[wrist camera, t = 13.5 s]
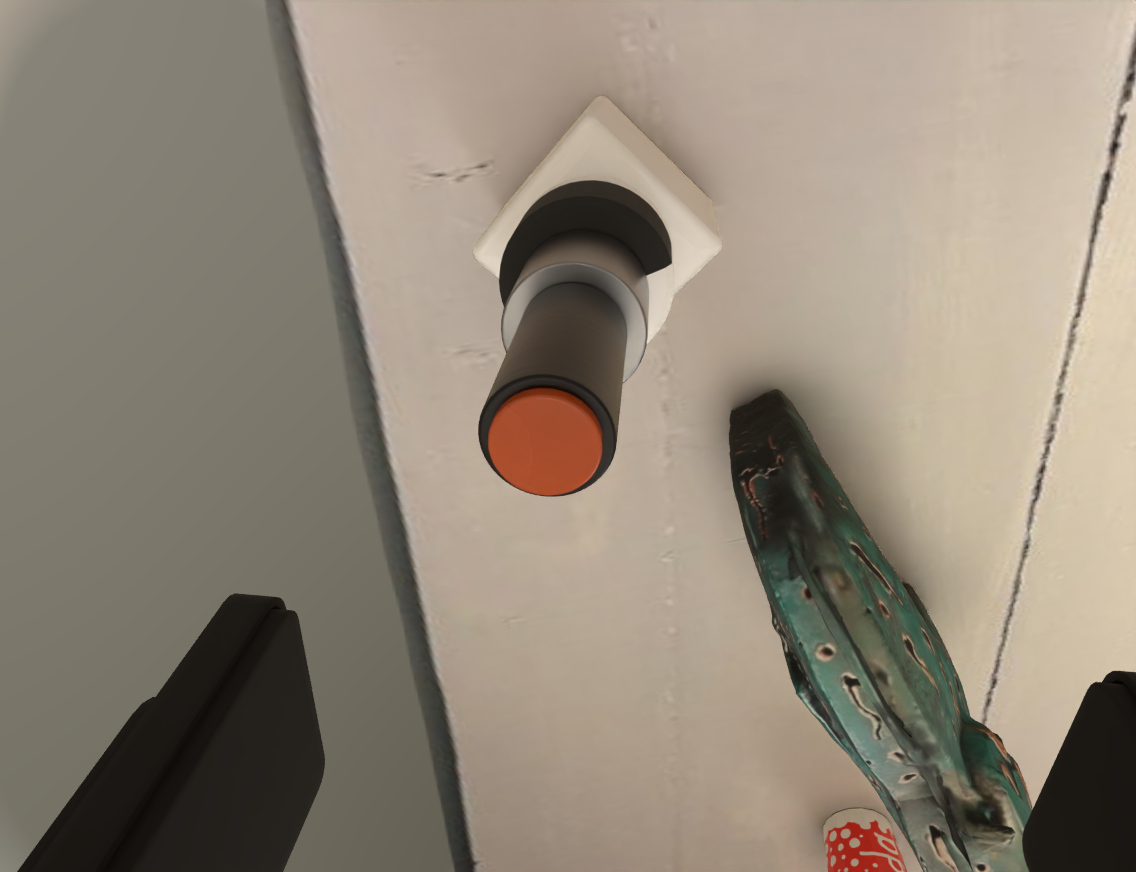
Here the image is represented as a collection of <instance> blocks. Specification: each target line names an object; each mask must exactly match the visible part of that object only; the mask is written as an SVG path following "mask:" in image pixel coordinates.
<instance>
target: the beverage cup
mask: <svg viewBox="0 0 1136 872" xmlns="http://www.w3.org/2000/svg"><path fill="white" fill-rule="evenodd" d="M823 834H824V842H825V850H826V858H827V866H828V872H907V870H906V868H905V865H904V862H903V859H902V856H901V853H900V850H899V847H898V845H897V842H896V839H895V836H894V833H893V830H892V827H891V824H890V823H889V822H888V820H887V819H886V818H885V816H883V815H881V814H879V813H877V812H876V811H873V810H868V809H863V808H858V809H847V810H843V811H840V812H837V813H835V814H834V815H832V816H831V817H830V818H828V819H827V820H826V822H825V824H824V826H823Z"/></svg>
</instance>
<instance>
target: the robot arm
mask: <svg viewBox="0 0 1136 872" xmlns="http://www.w3.org/2000/svg"><path fill="white" fill-rule="evenodd" d="M324 765H325V757H324V750H323V745H322V740H321V734H320V729H319V724H318V719H317V713H316V708H315V703H314V698H313V692H312V687H311V682H310V676H309V671H308V666H307V661H306V655H305V650H304V645H303V640H302V635H301V629H300V624H299V619H298V616H297V613H296V612H295V611H292V610H291V611H290V610H286V607H285V604H284V601H283V600H282V599H281V598H278V597H269V596H258V595H246V594H233V595H230V596H229V597H228V598H227V599H226V600H225V601H224V602H223V604H222V605H221V607H220V608H219V609H218V611H217V612H216V614H215V615H214V616H213V618H212V619H211V621H210V622H209V624H208V625H207V626H206V628H205V629H204V630H203V632H202V633H201V635H200V636H199V637H198V639H197V640H196V642H195V643H194V644H193V646H192V647H191V649H190V650H189V651H188V653H187V654H186V656H185V657H184V658H183V660H182V661H181V662H180V664H179V665H178V667H177V668H176V669H175V671H174V672H173V674H172V675H171V676H170V678H169V679H168V681H167V682H166V683H165V685H164V686H163V688H162V689H161V690H160V692H159V693H158V695H157V696H156V697H152V698H150V699H149V700H147V701H145V702H144V703H142V704H141V705H140V707H139V708H138V709H137V710H136V711H135V712H134V713H133V714H132V716H131V717H130V718H129V720H128V721H127V722H126V724H125V725H124V726H123V728H122V729H121V731H120V732H119V733H118V735H117V736H116V737H115V739H114V740H113V742H112V743H111V744H110V746H109V747H108V748H107V750H106V751H105V752H104V754H103V755H102V757H101V758H100V759H99V761H98V762H97V763H96V765H95V766H94V767H93V769H92V770H91V772H90V773H89V775H88V776H87V777H86V779H85V780H84V781H83V782H82V784H81V785H80V787H79V788H78V789H77V791H76V792H75V794H74V795H73V796H72V798H71V799H70V800H69V802H68V803H67V804H66V806H65V807H64V808H63V810H62V811H61V813H60V814H59V815H58V817H57V818H56V820H55V821H54V822H53V824H52V825H51V826H50V828H49V829H48V830H47V832H46V833H45V835H44V836H43V837H42V839H41V840H40V841H39V843H38V844H37V845H36V847H35V848H34V850H33V851H32V852H31V854H30V855H29V856H28V858H27V859H26V861H25V862H24V863H23V865H22V866H21V867H20V869H19V870H18V871H17V872H283V871H284V868H285V866H286V864H287V861H288V859H289V857H290V854H291V852H292V850H293V847H294V845H295V843H296V841H297V838H298V836H299V834H300V831H301V829H302V827H303V824H304V822H305V820H306V818H307V815H308V813H309V811H310V808H311V806H312V804H313V801H314V799H315V797H316V794H317V792H318V790H319V787H320V784H321V782H322V777H323V773H324ZM1022 848H1023V854H1024V859H1025V862H1026V865H1027V867H1028V870H1029V872H1136V672H1125V671H1112V672H1110V673H1109V674H1107V675H1106V677H1105V678H1104V680H1103V681H1102V682H1095V683H1093V684H1092V685H1091V686H1090V687H1089V689H1088V690H1087V692H1086V694H1085V697H1084V699H1083V701H1082V703H1081V705H1080V708H1079V710H1078V712H1077V714H1076V716H1075V718H1074V721H1073V723H1072V725H1071V727H1070V729H1069V732H1068V734H1067V736H1066V738H1065V740H1064V742H1063V745H1062V747H1061V749H1060V751H1059V753H1058V755H1057V758H1056V760H1055V762H1054V764H1053V766H1052V769H1051V771H1050V773H1049V775H1048V777H1047V779H1046V782H1045V784H1044V786H1043V788H1042V790H1041V793H1040V795H1039V797H1038V799H1037V801H1036V803H1035V806H1034V808H1033V810H1032V812H1031V814H1030V816H1029V819H1028V821H1027V823H1026V825H1025V827H1024V831H1023V836H1022Z"/></svg>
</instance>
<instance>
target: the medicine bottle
mask: <svg viewBox="0 0 1136 872" xmlns="http://www.w3.org/2000/svg"><path fill="white" fill-rule="evenodd" d="M584 230H585V231H594V232H598V233H602V234H605V235H608V236H610V237H612V238H614V239H616V240H618V241H619V242H621V243H622V244H624V245H625V246H626V247H627V248H628V249H629V250H630V251H631V252H632V253H633V254H634V255H635V256H636V257H637V259H638V260H639V262H640V264H641V265H642V267H643V269H644V272H645V274H646V277H647V281H648V286H649V316H648V337H647V343H648V342H649V341H651V340H652V338H653V337H654V336H655V335H656V334H657V332H658V331H659V330H660V328H661V326H662V325H663V323H664V322H665V320H666V317H667V315H668V313H669V311H670V307H671V304H672V300H673V296H674V295H675V294H676V293H677V292H678V291H679V290H680V289H681V288H682V287H683V286H684V285H685V284H686V283H687V282H688V281H689V280H690V279H691V278H693V277H694V276H695V275H696V274H697V273H698V272H699V271H700V270H701V269H702V268H703V267H704V266H705V265H706V264H707V263H708V262H709V261H710V260H711V259H712V258H713V257H714V256H715V255H716V254H717V253H718V252H719V251H720V249H721V248H722V240H721V236H720V232H719V227H718V223H717V219H716V215H715V210H714V206H713V203H712V201H711V200H710V199H709V198H708V197H707V196H706V195H705V194H704V193H703V192H702V191H701V190H700V189H699V188H698V187H697V186H696V185H695V184H694V183H693V182H692V181H691V180H690V179H689V178H688V177H687V176H686V175H685V174H684V173H683V172H682V171H681V170H680V169H679V168H678V167H677V166H676V165H675V164H674V163H673V162H672V161H671V160H670V159H669V158H668V157H667V156H666V155H665V154H664V153H663V152H662V151H661V150H660V149H659V148H658V147H657V146H656V145H655V144H654V143H653V142H651V141H650V140H649V139H648V138H647V137H646V136H645V135H644V134H643V133H642V132H641V131H640V130H639V129H638V128H637V127H636V126H635V125H634V124H633V123H632V122H631V121H630V120H629V119H628V118H627V117H626V116H625V115H624V114H623V113H622V112H621V111H620V110H619V109H618V108H617V107H616V106H615V105H614V104H613V103H612V102H611V101H610V100H609V99H608V98H607V97H605V96H598V97H596V98H595V99H594V100H593V101H592V102H591V104H590V105H589V106H588V107H587V108H586V110H585V111H584V112H583V113H582V114H581V115H580V117H579V118H578V119H577V120H576V121H575V123H574V124H573V125H572V126H571V127H570V129H569V130H568V131H567V132H566V133H565V134H564V136H563V137H562V138H561V139H560V140H559V142H558V143H557V144H556V145H555V146H554V147H553V149H552V150H551V151H550V152H549V153H548V155H547V156H546V157H545V158H544V159H543V161H542V162H541V163H540V164H539V165H538V166H537V168H536V169H535V170H534V171H533V172H532V174H531V175H530V176H529V177H528V178H527V180H526V181H525V182H524V183H523V184H522V185H521V187H520V188H519V189H518V190H517V191H516V193H515V194H514V195H513V196H512V197H511V198H510V200H509V201H508V202H507V203H506V204H505V206H504V207H503V208H502V209H501V211H500V212H499V213H498V215H497V216H496V218H495V219H494V220H493V222H492V223H491V224H490V226H489V227H488V229H487V230H486V231H485V233H484V234H483V235H482V237H481V238H480V240H479V241H478V242H477V244H476V245H475V247H474V249H473V255H474V257H475V259H476V260H477V261H478V262H480V263H481V264H482V265H483V266H484V267H485V268H486V269H488V270H489V271H490V272H491V273H492V274H493V275H495V276H496V277H497V278H498V279H499V285H500V293H501V298H502V302H503V305H504V307H505V304H506V302H507V300H508V298H509V296H510V294H511V292H512V290H513V288H514V286H515V284H516V282H517V280H518V278H519V276H520V274H521V272H522V270H523V268H524V266H525V264H526V262H527V260H528V259H529V257H530V256H531V254H532V253H533V252H534V251H535V250H536V249H537V248H538V247H539V246H540V245H541V244H543V243H544V242H546V241H547V240H549V239H550V238H552V237H555V236H557V235H559V234H562V233H566V232H571V231H584Z"/></svg>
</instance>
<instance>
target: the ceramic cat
mask: <svg viewBox="0 0 1136 872" xmlns="http://www.w3.org/2000/svg"><path fill="white" fill-rule="evenodd" d="M729 444H730V459H731V474H732V481H733V487H734V492H735V495H736V499H737V502H738V505H739V510H740V514H741V518H742V523H743V527H744V531H745V534H746V538H747V541H748V544H749V547H750V550H751V553H752V556H753V559H754V562H755V565H756V567H757V570H758V573H759V576H760V579H761V581H762V584H763V586H764V589H765V592H766V594H767V598H768V601H769V604H770V607H771V612H772V624H773V626H774V629H775V630H776V632H777V633H778V634H779V635H780V637H781V640H782V645H783V650H784V655H785V659H786V662H787V665H788V669H789V673H790V676H791V679H792V683H793V685H794V687H795V690H796V694H797V695H798V697H799V698H800V699H801V700H802V702H803V703H804V704H805V705H806V706H807V708H808V709H809V710H810V712H811V713H812V714H813V715H814V716H815V717H816V718H817V719H818V720H819V722H820V723H821V724H822V725H823V727H824V728H825V730H826V731H827V732H828V733H829V735H830V736H831V737H832V738H833V740H834V741H835V742H836V743H837V744H838V745H839V746H840V747H841V748H842V749H843V750H844V751H845V752H846V753H847V754H848V755H849V756H850V758H851V759H852V760H853V761H854V763H855V764H856V765H857V766H858V768H859V769H860V770H861V771H862V772H863V774H864V775H865V776H866V777H867V779H868V780H869V781H870V783H871V784H872V786H873V787H874V789H875V790H876V791H877V793H878V795H879V796H880V798H881V800H882V801H883V803H884V805H885V807H886V808H887V810H888V811H889V813H890V814H891V816H892V817H893V819H894V820H895V822H896V823H897V825H898V826H899V828H900V829H901V831H902V833H903V834H904V836H905V838H906V839H907V841H908V843H909V845H910V846H911V848H912V850H913V852H914V853H915V855H916V857H917V859H918V861H919V863H920V865H921V867H922V869H923V872H1029V870H1028V867H1027V865H1026V862H1025V859H1024V854H1023V848H1022V836H1023V831H1024V827H1025V825H1026V823H1027V821H1028V819H1029V816H1030V814H1031V812H1032V805H1031V801H1030V798H1029V794H1028V791H1027V787H1026V784H1025V782H1024V779H1023V777H1022V774H1021V772H1020V769H1019V766H1018V764H1017V763H1016V761H1015V760H1014V759H1013V758H1012V757H1011V756H1010V755H1009V754H1008V753H1007V752H1006V750H1005V748H1004V745H1003V742H1002V739H1001V738H1000V737H999V736H998V735H997V734H995V733H993V732H991V731H990V730H989V729H988V728H987V727H986V726H985V725H983V724H981V723H979V722H977V721H975V720H974V719H972V718H971V717H970V713H969V709H968V706H967V702H966V698H965V694H964V691H963V687H962V684H961V682H960V679H959V676H958V674H957V672H956V670H955V668H954V665H953V663H952V661H951V658H950V656H949V654H948V652H947V649H946V647H945V645H944V643H943V641H942V639H941V637H940V635H939V633H938V631H937V629H936V627H935V626H934V624H933V622H932V621H931V619H930V617H929V615H928V613H927V611H926V609H925V608H924V606H923V604H922V602H921V600H920V599H919V597H918V596H917V594H916V593H915V591H914V590H913V588H912V587H911V586H909V585H906V584H902V582H901V581H900V579H899V577H898V576H897V574H896V572H895V571H894V570H893V568H892V567H891V566H890V564H889V563H888V562H887V560H886V559H885V557H884V556H883V555H882V553H881V551H880V550H879V548H878V546H877V545H876V543H875V541H874V540H873V538H872V537H871V535H870V533H869V532H868V530H867V528H866V527H865V525H864V523H863V522H862V520H861V519H860V517H859V515H858V514H857V512H856V511H855V509H854V507H853V506H852V504H851V502H850V501H849V499H848V497H847V496H846V494H845V492H844V491H843V489H842V487H841V486H840V484H839V482H838V481H837V479H836V478H835V476H834V474H833V473H832V471H831V470H830V468H829V467H828V465H827V464H826V462H825V461H824V459H823V458H822V457H821V454H820V451H819V449H818V447H817V445H816V443H815V442H814V440H813V437H812V435H811V433H810V431H809V430H808V428H807V426H806V424H805V422H804V420H803V419H802V418H801V416H800V415H799V413H798V412H797V410H796V409H795V407H794V406H793V404H792V403H791V401H790V400H789V399H788V398H787V397H786V396H785V395H784V394H783V393H782V392H781V391H779V390H774V391H771V392H769V393H767V394H764V395H762V396H761V397H759V398H757V399H755V400H754V401H752V402H751V403H750V404H747V405H744V406H742V407H740V408H737V409H735V410H733V411H732V412H731V415H730V432H729Z"/></svg>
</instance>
